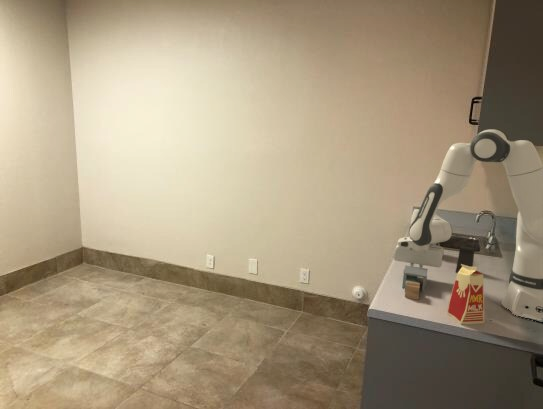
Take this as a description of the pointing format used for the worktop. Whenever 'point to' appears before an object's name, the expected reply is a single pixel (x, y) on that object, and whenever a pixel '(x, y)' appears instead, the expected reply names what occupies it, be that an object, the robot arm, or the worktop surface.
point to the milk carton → (467, 297)
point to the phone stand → (465, 257)
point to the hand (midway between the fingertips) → (415, 272)
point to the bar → (411, 279)
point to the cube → (412, 290)
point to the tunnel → (414, 272)
